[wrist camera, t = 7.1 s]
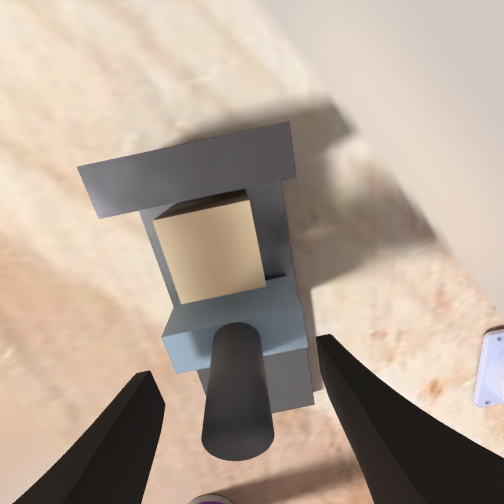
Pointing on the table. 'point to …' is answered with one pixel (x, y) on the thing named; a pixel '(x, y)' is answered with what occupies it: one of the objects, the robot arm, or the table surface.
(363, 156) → the table surface
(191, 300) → the block
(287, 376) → the base
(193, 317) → the sliding jaw
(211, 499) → the container
